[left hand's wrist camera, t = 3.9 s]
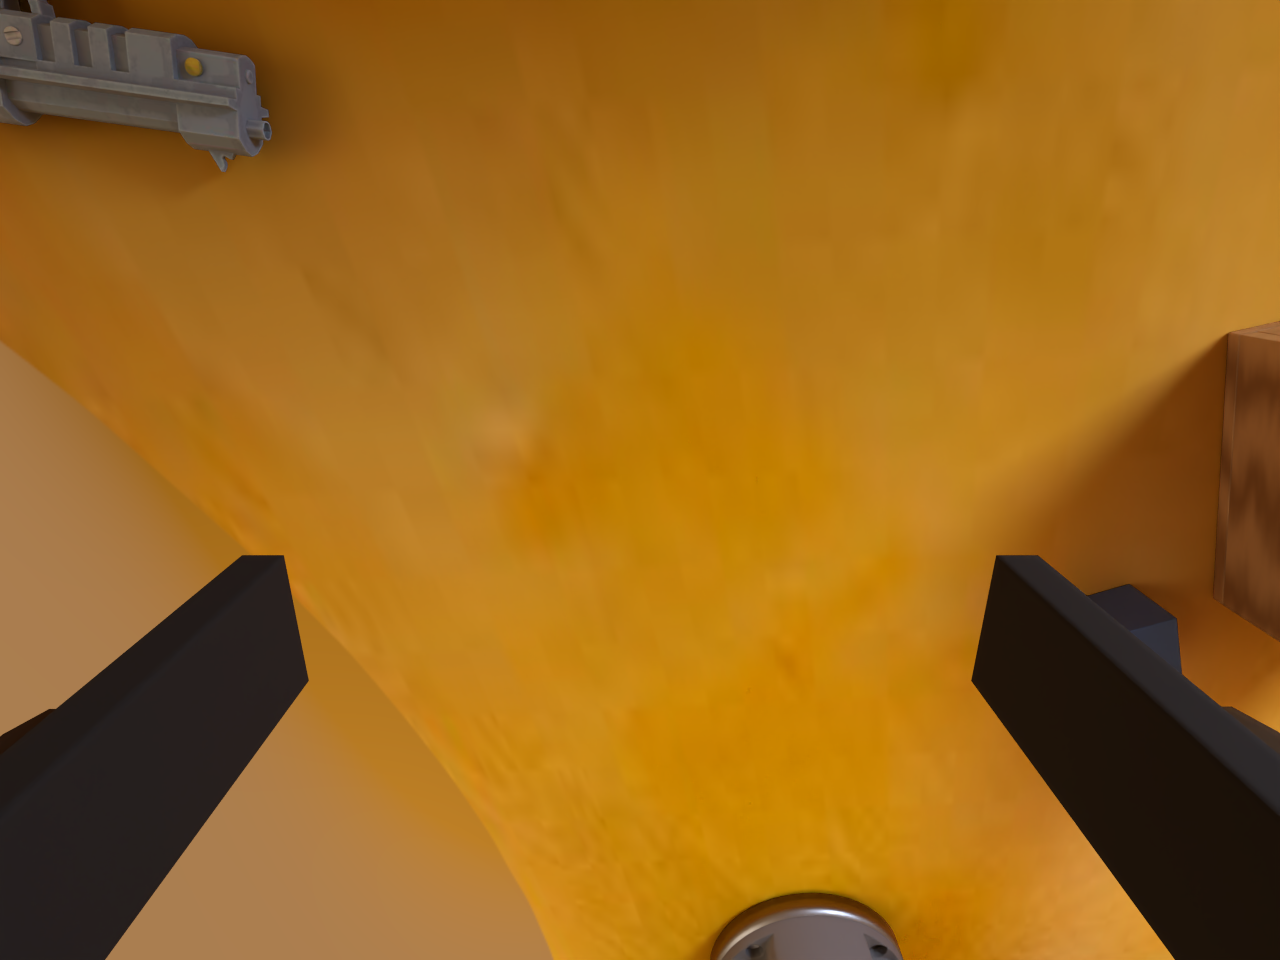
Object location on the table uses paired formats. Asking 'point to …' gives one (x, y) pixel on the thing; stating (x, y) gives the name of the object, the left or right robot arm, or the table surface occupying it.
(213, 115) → the toy gun
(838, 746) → the table surface
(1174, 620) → the block
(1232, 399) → the chest
